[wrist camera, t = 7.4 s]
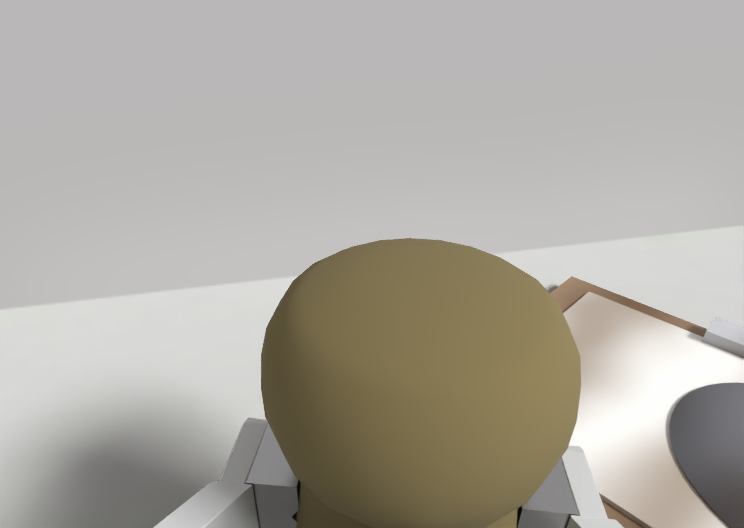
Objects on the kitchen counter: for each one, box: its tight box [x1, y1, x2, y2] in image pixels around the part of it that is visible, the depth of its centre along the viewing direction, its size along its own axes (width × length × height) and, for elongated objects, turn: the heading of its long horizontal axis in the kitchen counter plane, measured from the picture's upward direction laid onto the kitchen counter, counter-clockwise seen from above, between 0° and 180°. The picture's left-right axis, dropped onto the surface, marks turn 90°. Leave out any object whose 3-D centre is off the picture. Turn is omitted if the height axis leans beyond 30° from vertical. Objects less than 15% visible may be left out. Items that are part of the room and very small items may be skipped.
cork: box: [261, 238, 581, 528], centre depth 10 cm, size 6×6×11 cm
